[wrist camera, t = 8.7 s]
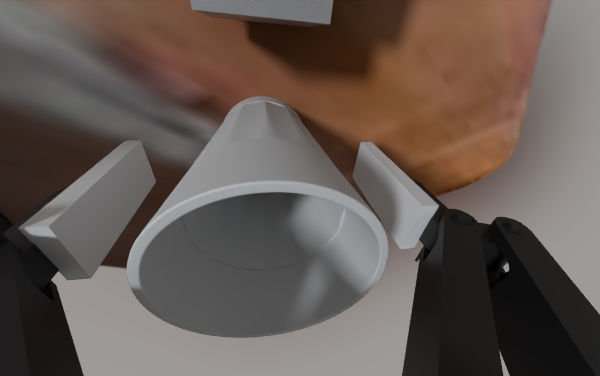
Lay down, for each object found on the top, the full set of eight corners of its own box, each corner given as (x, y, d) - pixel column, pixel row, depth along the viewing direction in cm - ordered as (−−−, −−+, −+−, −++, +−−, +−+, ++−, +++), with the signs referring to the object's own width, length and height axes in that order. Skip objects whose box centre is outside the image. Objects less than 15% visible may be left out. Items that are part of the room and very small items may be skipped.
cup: (323, 166, 19) (389, 304, 9) (237, 192, 19) (215, 354, 9) (300, 67, 14) (389, 136, 4) (187, 103, 14) (39, 244, 5)
